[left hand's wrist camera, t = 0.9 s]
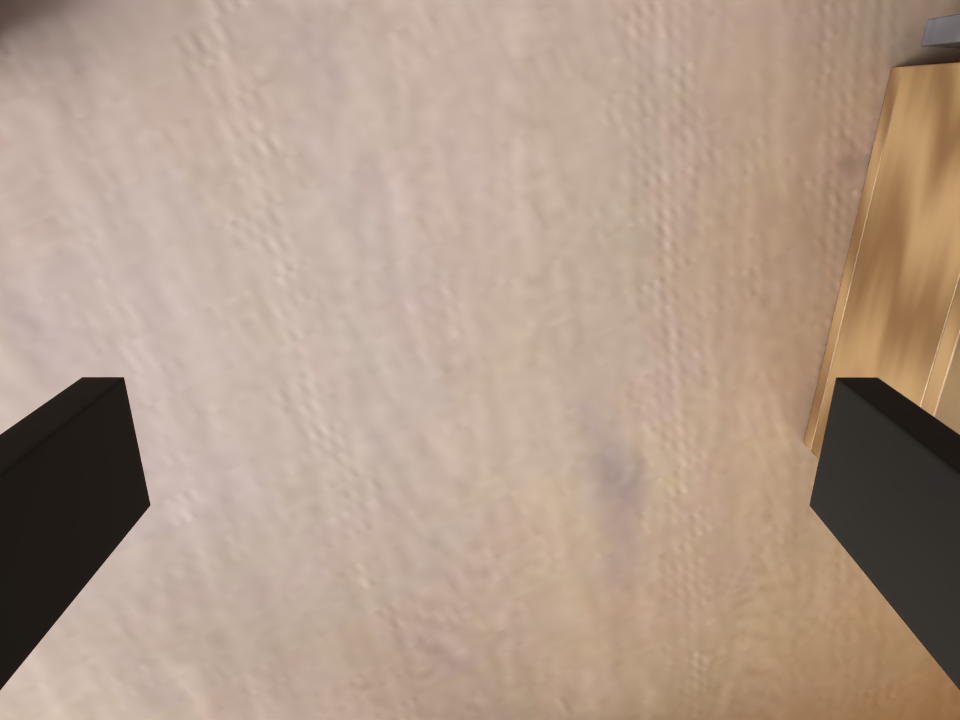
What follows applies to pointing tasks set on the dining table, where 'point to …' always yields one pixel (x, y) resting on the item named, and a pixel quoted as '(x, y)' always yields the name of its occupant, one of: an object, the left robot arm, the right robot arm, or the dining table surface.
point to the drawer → (942, 32)
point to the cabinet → (904, 256)
